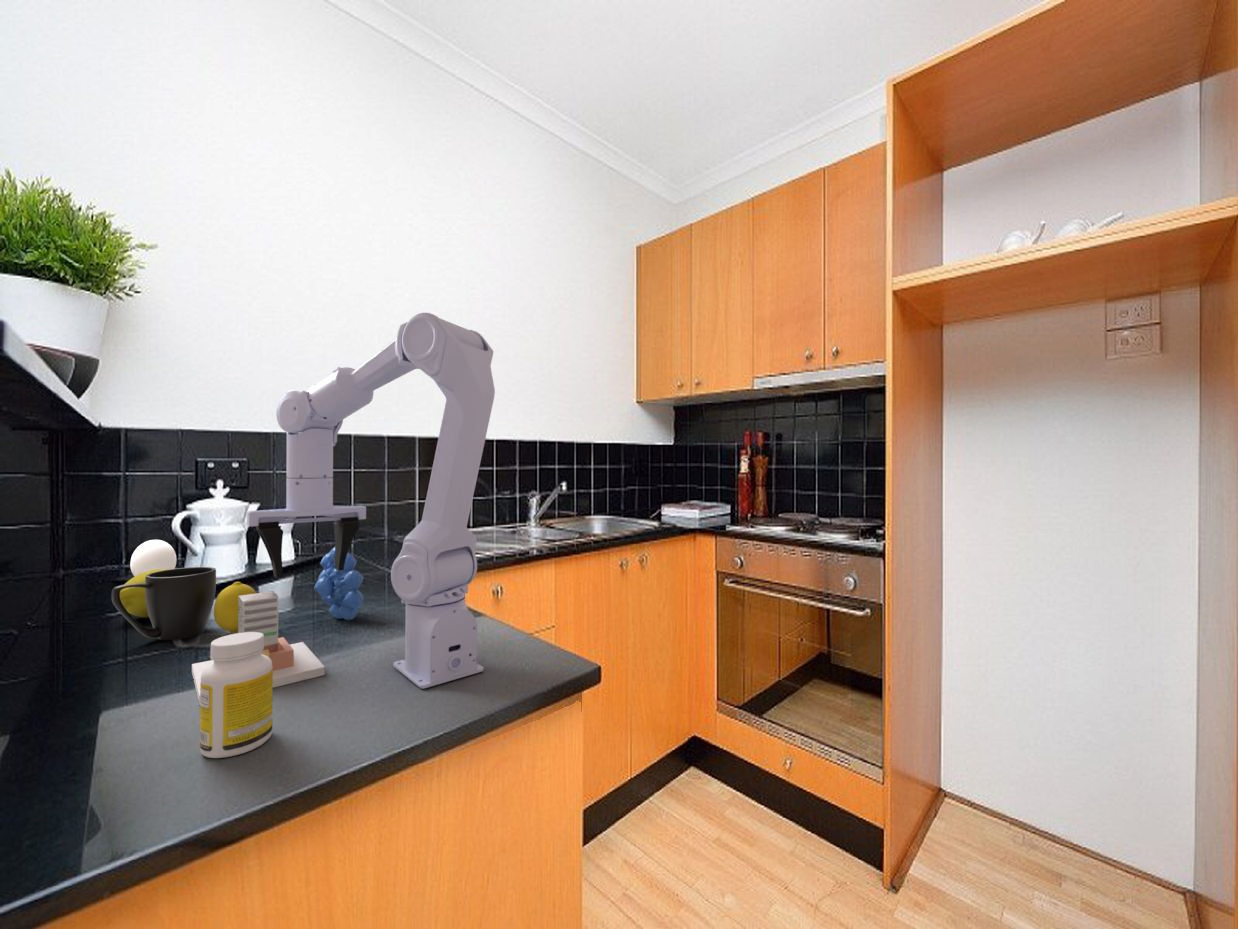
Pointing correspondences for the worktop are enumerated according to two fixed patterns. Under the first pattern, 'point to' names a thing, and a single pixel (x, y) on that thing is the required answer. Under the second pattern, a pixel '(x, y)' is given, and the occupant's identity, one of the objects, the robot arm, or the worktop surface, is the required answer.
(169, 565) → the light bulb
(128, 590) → the lemon
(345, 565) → the grapes
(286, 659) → the stand base
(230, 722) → the supplement bottle
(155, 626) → the mug
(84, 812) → the worktop surface
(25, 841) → the worktop surface
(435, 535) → the robot arm
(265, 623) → the column
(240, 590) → the lemon
